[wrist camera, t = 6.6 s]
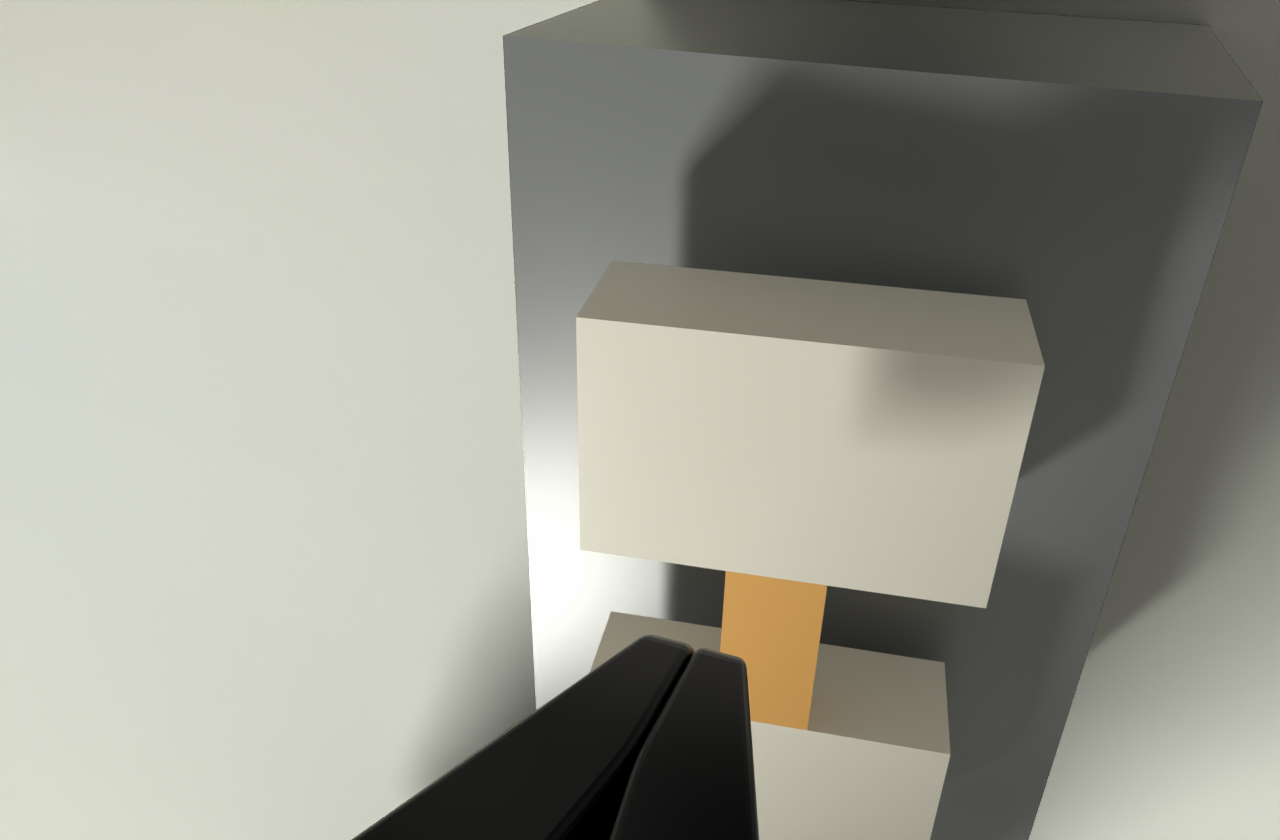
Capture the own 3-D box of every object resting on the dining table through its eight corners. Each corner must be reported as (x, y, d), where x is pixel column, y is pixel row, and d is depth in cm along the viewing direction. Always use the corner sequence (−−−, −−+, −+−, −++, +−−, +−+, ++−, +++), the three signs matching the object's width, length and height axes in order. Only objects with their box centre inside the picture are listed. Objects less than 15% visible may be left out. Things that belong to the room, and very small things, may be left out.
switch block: (1015, 713, 17) (1003, 917, 14) (628, 613, 19) (539, 772, 16) (1209, 25, 12) (1262, 100, 8) (637, -14, 14) (502, 34, 10)
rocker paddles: (911, 811, 13) (912, 908, 12) (610, 757, 14) (584, 843, 13) (1025, 299, 10) (1045, 366, 8) (612, 260, 10) (576, 316, 9)
